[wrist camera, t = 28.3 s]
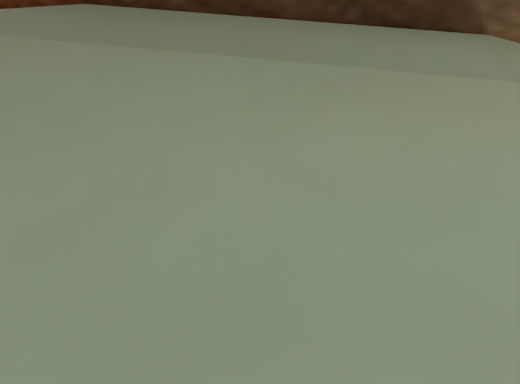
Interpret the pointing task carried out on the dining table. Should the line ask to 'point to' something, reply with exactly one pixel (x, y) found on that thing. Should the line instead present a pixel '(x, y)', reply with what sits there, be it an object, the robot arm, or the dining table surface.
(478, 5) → the dining table surface
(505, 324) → the chest lid
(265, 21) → the chest
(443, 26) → the dining table surface
